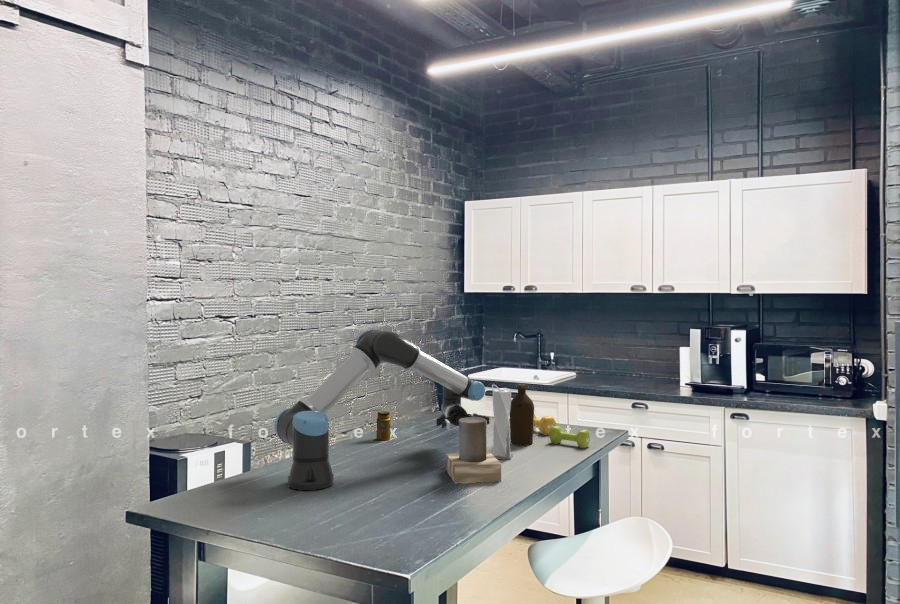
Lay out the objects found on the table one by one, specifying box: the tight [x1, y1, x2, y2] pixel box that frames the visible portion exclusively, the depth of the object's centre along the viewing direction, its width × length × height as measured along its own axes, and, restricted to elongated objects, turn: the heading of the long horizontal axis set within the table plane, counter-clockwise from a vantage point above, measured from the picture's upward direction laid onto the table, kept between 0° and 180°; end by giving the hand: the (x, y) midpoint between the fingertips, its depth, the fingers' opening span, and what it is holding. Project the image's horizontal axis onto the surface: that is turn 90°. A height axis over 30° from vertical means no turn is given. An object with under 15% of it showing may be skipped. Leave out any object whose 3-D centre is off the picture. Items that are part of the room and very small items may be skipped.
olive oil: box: [509, 383, 535, 446], centre depth 270 cm, size 11×11×25 cm
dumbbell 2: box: [548, 425, 591, 449], centre depth 267 cm, size 16×8×7 cm, turn 54°
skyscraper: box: [491, 383, 514, 460], centre depth 248 cm, size 8×8×28 cm
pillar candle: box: [458, 417, 488, 462], centre depth 221 cm, size 10×10×15 cm
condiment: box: [369, 410, 395, 444], centre depth 275 cm, size 7×8×12 cm
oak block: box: [445, 451, 502, 485], centre depth 222 cm, size 16×16×6 cm
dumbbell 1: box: [533, 413, 558, 436], centre depth 293 cm, size 19×9×8 cm, turn 30°
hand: (467, 425), depth 231 cm, fingers open, 13 cm apart
